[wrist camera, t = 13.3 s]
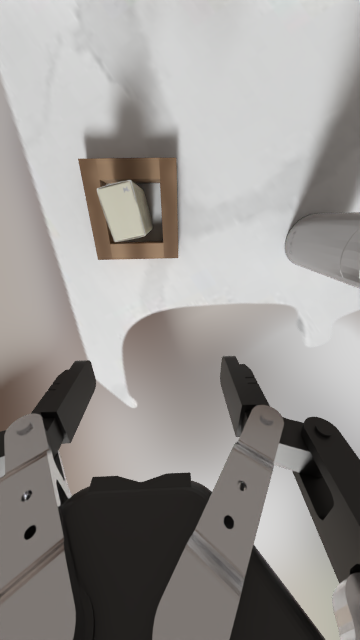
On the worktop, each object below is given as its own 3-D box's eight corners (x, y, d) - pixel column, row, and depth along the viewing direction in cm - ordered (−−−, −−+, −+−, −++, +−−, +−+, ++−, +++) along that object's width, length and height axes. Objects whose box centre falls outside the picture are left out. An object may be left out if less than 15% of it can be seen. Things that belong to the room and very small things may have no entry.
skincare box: (119, 195, 33) (93, 184, 23) (144, 189, 33) (130, 175, 22) (131, 235, 36) (113, 243, 26) (154, 230, 36) (146, 236, 25)
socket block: (175, 163, 32) (176, 157, 29) (177, 254, 38) (178, 258, 35) (87, 164, 31) (78, 158, 28) (104, 256, 38) (98, 259, 35)
